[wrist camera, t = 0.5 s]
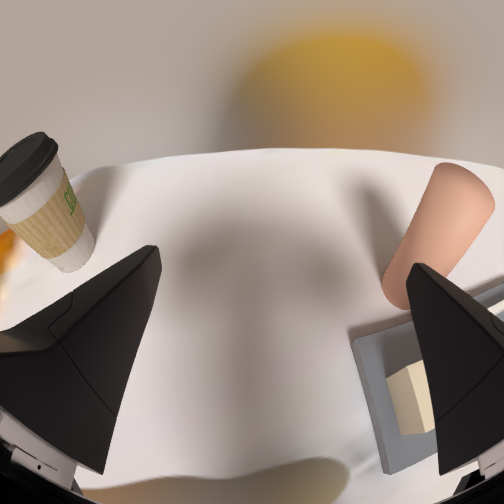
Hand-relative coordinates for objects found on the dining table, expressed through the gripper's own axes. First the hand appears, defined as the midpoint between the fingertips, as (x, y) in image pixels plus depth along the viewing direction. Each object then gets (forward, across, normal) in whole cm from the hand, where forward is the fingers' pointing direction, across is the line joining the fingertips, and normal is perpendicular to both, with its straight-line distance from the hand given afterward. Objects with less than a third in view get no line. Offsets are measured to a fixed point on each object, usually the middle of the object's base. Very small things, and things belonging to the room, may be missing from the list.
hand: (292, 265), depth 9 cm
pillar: (+12, -14, +11) cm, 21 cm away
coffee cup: (+16, +24, +13) cm, 31 cm away
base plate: (+3, -20, +13) cm, 24 cm away
